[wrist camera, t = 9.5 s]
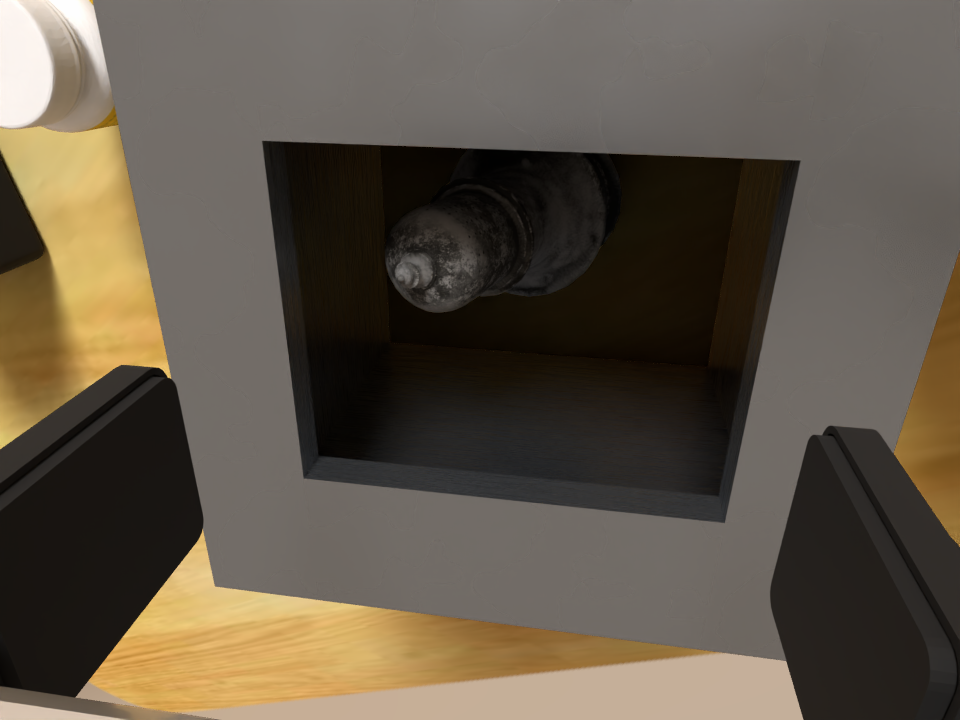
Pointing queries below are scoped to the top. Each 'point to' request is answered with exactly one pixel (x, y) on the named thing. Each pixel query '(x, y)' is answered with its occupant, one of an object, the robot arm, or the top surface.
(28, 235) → the battery
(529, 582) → the grey hollow block
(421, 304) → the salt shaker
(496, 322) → the top surface
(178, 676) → the top surface
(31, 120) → the supplement bottle
